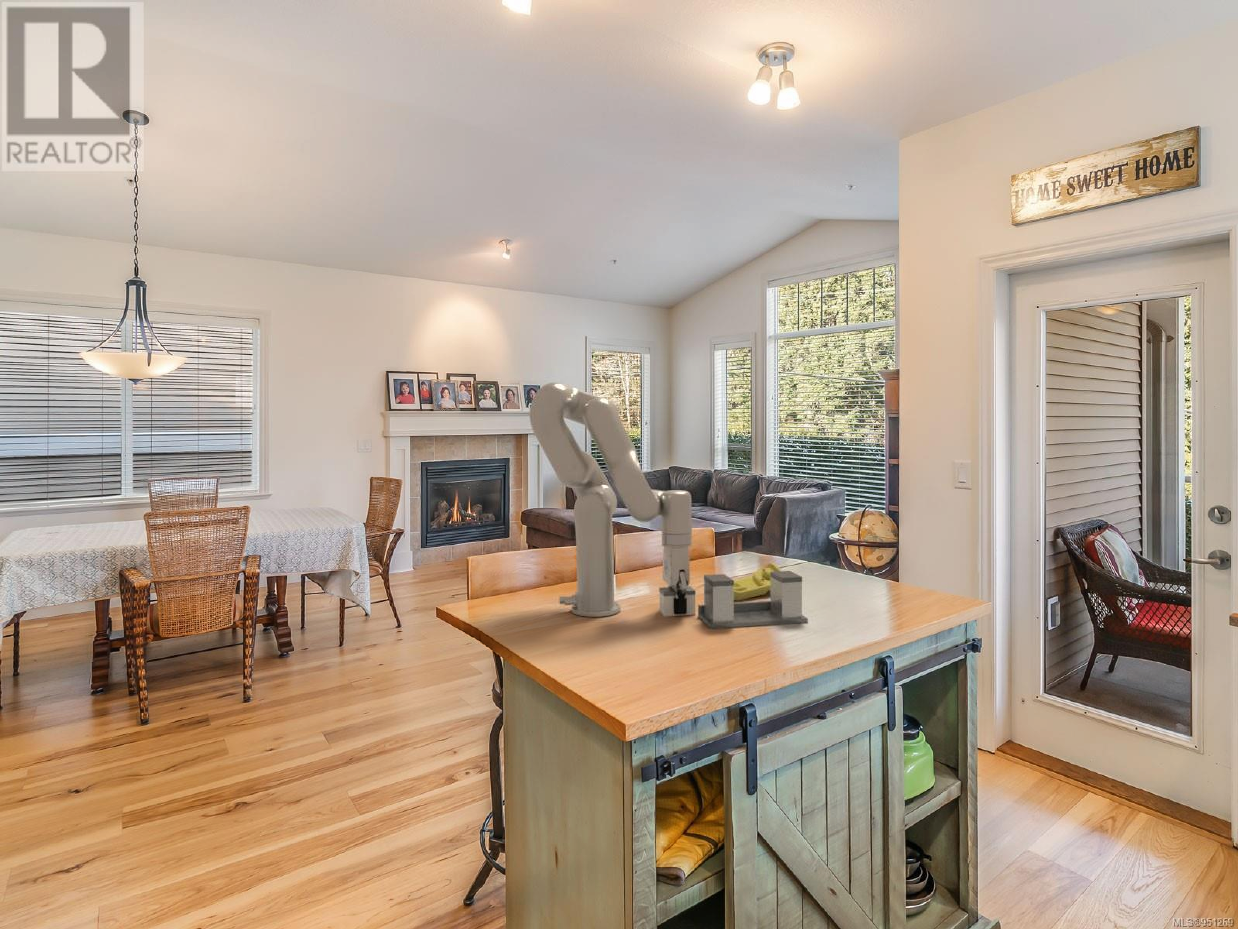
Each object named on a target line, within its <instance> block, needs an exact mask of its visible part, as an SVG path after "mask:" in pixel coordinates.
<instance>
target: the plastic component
mask: <svg viewBox="0 0 1238 929" xmlns="http://www.w3.org/2000/svg"><path fill="white" fill-rule="evenodd" d="M776 571H782V570H781V569H780V568H779V567H778V566H777V565H776V564H775V563H772V562H771V563H768V564H766V565H765V567H764V568H761V569H758V570H755V571H754V572H753V574H752V575H749V576H746V577H741V578H738V579H733V580H734V601H743V600H748V599H753V598H755V597H759V596H763V595H766V594H767V593H768V592H770V591H771V577H770V572H776Z"/></svg>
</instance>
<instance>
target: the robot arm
mask: <svg viewBox="0 0 1238 929" xmlns="http://www.w3.org/2000/svg"><path fill="white" fill-rule="evenodd" d="M619 413H620V412H619V409H618V407H617V405H616V403H614V401H612V400H610V399H608V398H604V397H601V396H598V395H596V394H595V395H594V394H592V393H589V392H586V391H583V390H581V389H578V388H575V387H572V386H571V385H570V386H569V385H567V384H564V383H561V382H555V381H554V382H548V383H546V384H544V385H543V386H541V387H540V388H539V389H538V390H537V391H536V393H535V394H534V396H533V398H532V400H531V403H530V407H529V421H530V426H531V429H532V431H533V434H534V435H535V438H536V439H537V441H538V443H539V445H540V446H541V448H542V451H543V453H544V454H545V456H546V458H547V460H548V461H549V463H550V465H551V467H552V468H553V471H554V472H555V474H556V477H557V478H558V480H559V482H560V483H561V484H562V485H564V486H565V487H567V488H570V489H572V491H573V492H574V494H575V496H576V500H575V503H574V506H573V507H574V508H573V517H574V528H575V545H576V546H575V548H576V549H575V550H576V591H574V594H571V595H570V596H566V595H565V596H563V595H562V596H559V597H558V599H559V601H558V603H559V605H564V606H570V605H571V613H573V615H578V616H581V617H587V618H588V617H589V618H593V617H594V618H596V617H597V618H598V617H600V618H601V617H608V616H612V615H615V614H618V613H619V612H620V611H621V605H620V603H619V602H616V601H615V573H614V572H615V561H614V556H615V555H614V553H615V552H614V531H613V530H614V528H613V527H614V526H613V515H614V514H615V512H616V510H617V506H618V500H617V495H616V493H615V491H614V490H613V488H612V486H611V484H610V482H609V481H608V479H607V477H606V476H605V474H604V472H603V470H602V468H601V467H600V465H599V463H598V462H597V460H596V459H595V458H594V456H593V455H591V454H590V453H589V452H587V451H585V450H582V449H581V447H580V445H579V444H578V443H577V441H576V439H575V437H574V435H573V432H572V431H571V430H570V428H569V426H568V425H567V424H566V422H565V419H567V420H570V421H572V422H574V423H577V424H581V425H583V426H585V427H586V428H587V430H588V433H589V434H590V436H591V438H592V439H593V442H594V443H595V445H596V447H597V449H598V452H599V454H600V455H601V457H602V459H603V461H604V463H605V465H606V468H607V471H608V473H609V475H610V477H611V478H612V481H613V484H614V486H615V488H616V490H617V492H618V494H619V496H620V498H621V500H622V502H623V504H624V506H625V508H626V510H627V511H628V513H629V514H630V516H631V517H632V519H634V520H635V521H637V522H639V523H650V522H652V521H654V520H655V519H656V518H657V517H658V518H659V517H661V546H662V547H663V553H662V554H663V555H662V580H663V581H664V582H665V583H666V584H667V585H668V586H667V587H674V591H675V598H674V614H675V615H677V614H686V613H687V592H686V591H687V586H690V581H691V580H690V579H691V578H690V577H691V575H690V574H691V571H690V568H691V567H690V551H689V549H690V548H689V547H692V546H693V544H692V543H693V539H692V536H693V534H692V527H693V526H692V524H693V523H692V521H693V520H692V495H691V492H689V491H687V490H681V489H673V490H659V489H652V488H651V487H650V485H649V483H648V481H647V479H646V477H645V475H644V473H643V470H642V468H641V465H640V463H639V455H638V451H637V448H636V447H635V445H634V443H633V441H632V439H631V437H630V436H629V433H628V432H627V430H626V428H625V426H624V423H623V422H622V419H621V417H620V414H619ZM677 588H680V589H679V591H678V589H677Z"/></svg>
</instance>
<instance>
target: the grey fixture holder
mask: <svg viewBox="0 0 1238 929" xmlns="http://www.w3.org/2000/svg"><path fill="white" fill-rule="evenodd" d="M770 577H771V589H770V600H762V601H758V600H757V601H746V602H741V601H740V602H735V600H734V580H735V579H733V578H730V577H729V576H728V575H726V574H725V573H721V574H704V575H703V581H704V582H703V583H704V584H703V585H704V586H703V589H704V590H703V592H704V594H703V595H704V596H703V598H704V599H703V600H704V602H703V604H698V605H697V617H698V619H700V620H701V621H702V622H703V623H704V624H705V625H706V626H707V627H708V628H709V629H710V630H711V629H712V630H713V629H714V630H715V629H716V630H717V629H727V628H730V629H731V628H743V627H746V628H747V627H759V626H760V627H761V626H773V625H774V626H775V625H791V624H803V623H804V624H805V623H806V624H807V623H808V622H809V619H808V617H806V616H805V615H803V576H801V575H799V574H797V573H796V572H793V571H791V570H781V571H776V572H770Z"/></svg>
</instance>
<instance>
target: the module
mask: <svg viewBox="0 0 1238 929" xmlns="http://www.w3.org/2000/svg"><path fill="white" fill-rule="evenodd" d="M677 589H678V591H679V589H680V588H677ZM658 592H659V612H660V613H661V614H662V616H663V617H677V616H689V615H690V616H692V615H696V590H695V589H694V588H693V587H692V586H691V585H688V586H687V591H686V592H687V613H686V614H677V615H675V614H674V598H675V591H674V587H668V586H666V587H665V586H664V587H659V590H658Z"/></svg>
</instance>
